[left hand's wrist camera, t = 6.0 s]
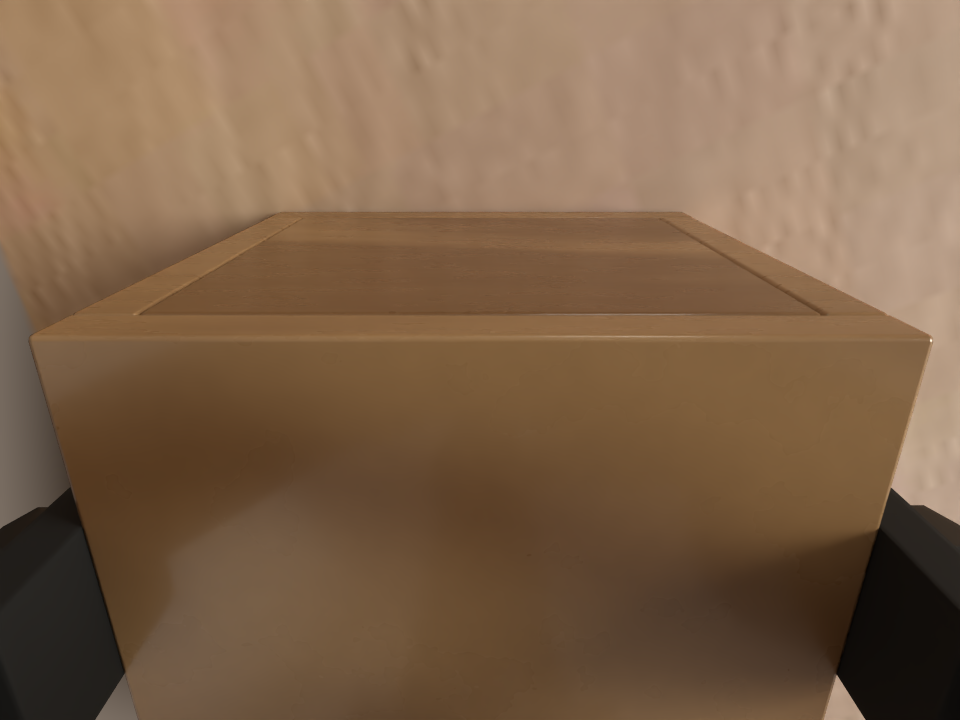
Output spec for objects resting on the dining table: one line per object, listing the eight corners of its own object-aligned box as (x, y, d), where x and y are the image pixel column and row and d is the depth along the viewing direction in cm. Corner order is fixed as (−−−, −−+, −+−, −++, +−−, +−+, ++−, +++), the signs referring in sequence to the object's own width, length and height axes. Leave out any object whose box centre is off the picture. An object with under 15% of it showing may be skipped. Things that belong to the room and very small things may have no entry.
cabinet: (621, 721, 24) (712, 1110, 14) (339, 720, 24) (249, 1108, 14) (683, 211, 17) (938, 336, 7) (278, 211, 17) (23, 335, 7)
